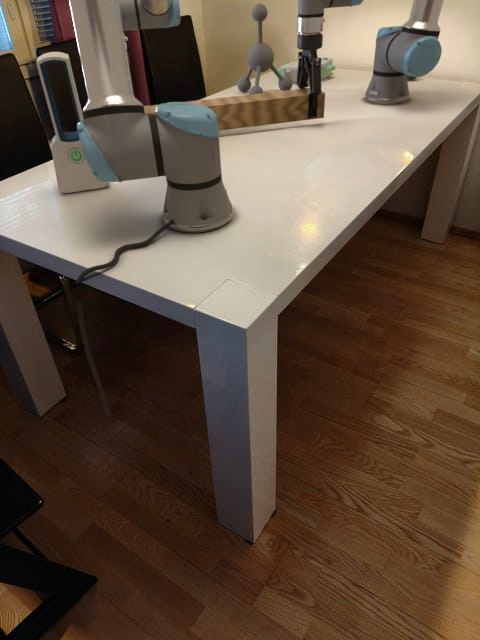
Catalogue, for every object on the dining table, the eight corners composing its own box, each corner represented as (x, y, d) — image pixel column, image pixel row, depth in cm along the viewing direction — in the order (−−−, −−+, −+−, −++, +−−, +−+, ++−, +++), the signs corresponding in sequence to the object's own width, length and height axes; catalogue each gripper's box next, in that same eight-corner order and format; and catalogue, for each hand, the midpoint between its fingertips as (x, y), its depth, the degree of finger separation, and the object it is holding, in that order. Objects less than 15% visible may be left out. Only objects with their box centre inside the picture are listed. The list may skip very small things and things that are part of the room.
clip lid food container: (301, 54, 217) (341, 57, 207) (300, 70, 221) (340, 74, 211) (269, 65, 201) (312, 69, 191) (269, 82, 205) (311, 87, 195)
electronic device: (59, 194, 121) (20, 60, 103) (60, 183, 127) (23, 54, 108) (110, 187, 123) (80, 54, 105) (108, 176, 129) (80, 48, 111)
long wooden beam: (116, 143, 145) (111, 117, 141) (115, 135, 152) (110, 110, 147) (323, 117, 156) (325, 93, 151) (314, 111, 163) (315, 87, 158)
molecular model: (306, 97, 183) (309, 2, 165) (252, 105, 177) (249, 8, 159) (279, 85, 201) (279, -2, 182) (229, 92, 195) (224, 3, 177)
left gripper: (130, 57, 127) (144, 144, 141) (125, 45, 144) (139, 124, 158) (101, 59, 126) (118, 147, 140) (99, 47, 143) (115, 126, 157)
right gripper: (336, 37, 137) (330, 120, 150) (309, 27, 153) (307, 104, 167) (310, 39, 135) (307, 123, 149) (286, 29, 152) (286, 106, 166)
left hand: (129, 135), depth 149 cm, fingers closed on long wooden beam, 9 cm apart
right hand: (307, 113), depth 158 cm, fingers closed on long wooden beam, 9 cm apart
